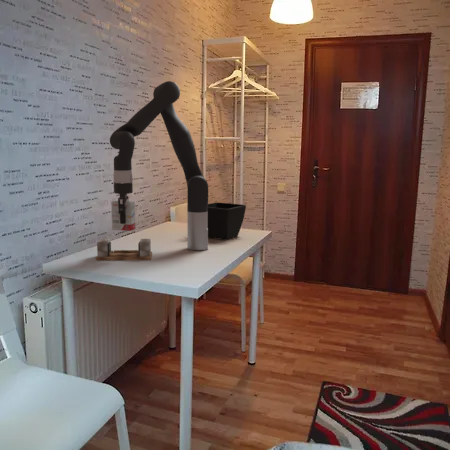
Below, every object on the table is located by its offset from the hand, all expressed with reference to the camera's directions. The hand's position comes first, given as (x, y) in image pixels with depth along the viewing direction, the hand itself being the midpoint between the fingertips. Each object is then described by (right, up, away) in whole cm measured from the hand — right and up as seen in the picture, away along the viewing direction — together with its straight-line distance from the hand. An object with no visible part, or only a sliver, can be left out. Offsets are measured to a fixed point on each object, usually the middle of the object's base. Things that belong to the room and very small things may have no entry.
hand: (123, 222), depth 183 cm
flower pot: (+40, -8, +50) cm, 65 cm away
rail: (0, -15, +2) cm, 15 cm away
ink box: (0, -3, +1) cm, 3 cm away
